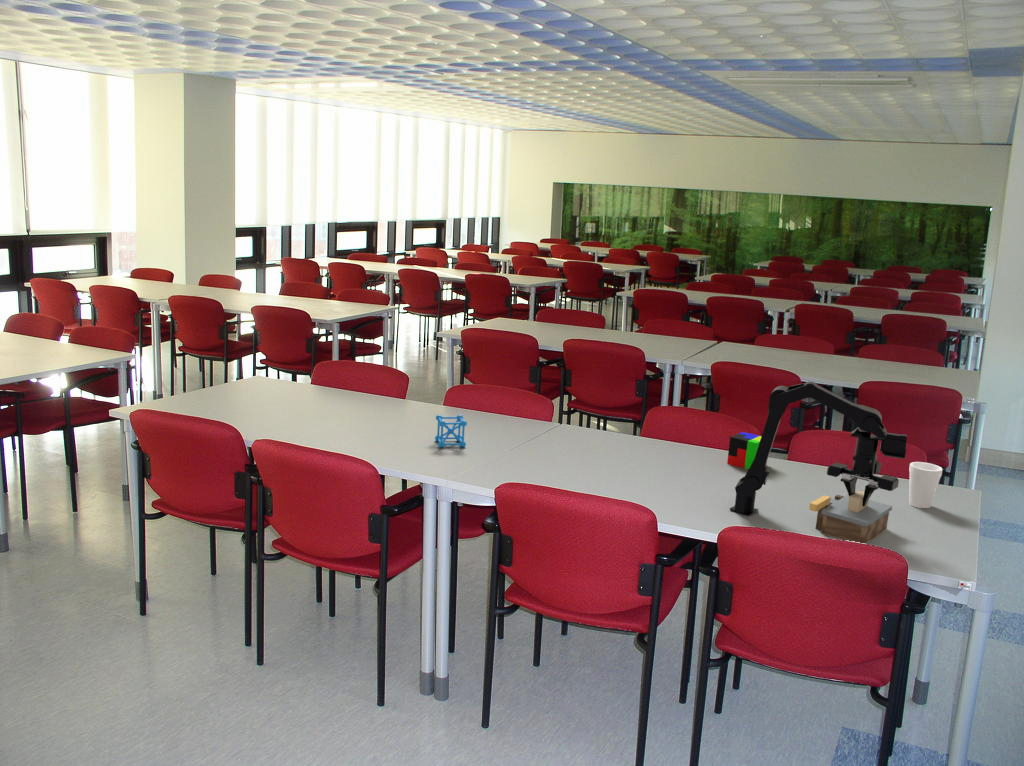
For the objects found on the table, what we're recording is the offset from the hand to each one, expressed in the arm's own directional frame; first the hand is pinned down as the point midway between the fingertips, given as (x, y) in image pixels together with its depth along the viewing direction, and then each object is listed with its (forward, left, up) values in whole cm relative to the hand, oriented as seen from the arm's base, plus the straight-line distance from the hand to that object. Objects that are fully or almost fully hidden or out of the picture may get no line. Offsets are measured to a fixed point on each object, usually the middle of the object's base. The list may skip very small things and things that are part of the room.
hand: (858, 504), depth 261 cm
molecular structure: (-31, +135, -8) cm, 139 cm away
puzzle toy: (+35, +52, -8) cm, 63 cm away
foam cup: (+40, -6, -8) cm, 41 cm away
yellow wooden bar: (-9, +8, -1) cm, 12 cm away
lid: (0, +2, -2) cm, 3 cm away
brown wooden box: (0, +1, -8) cm, 8 cm away
